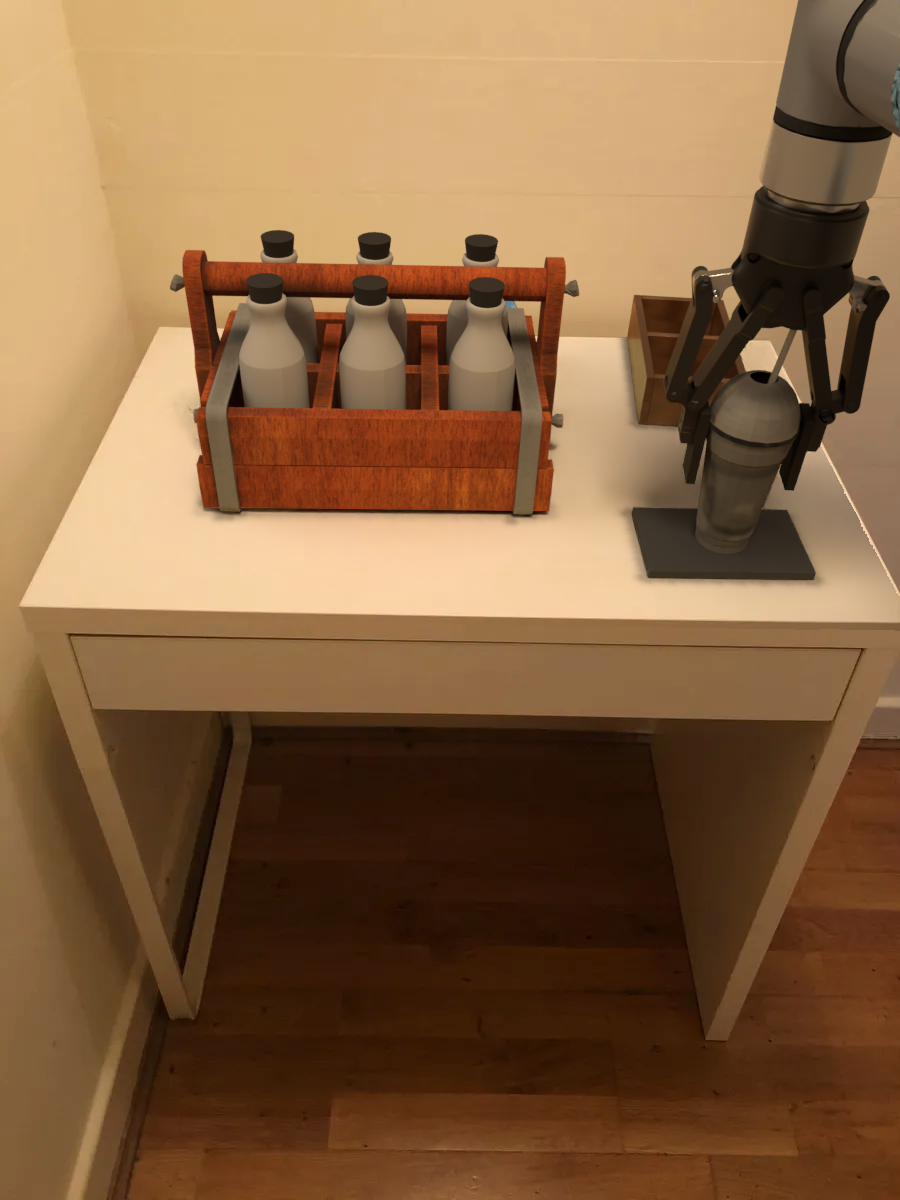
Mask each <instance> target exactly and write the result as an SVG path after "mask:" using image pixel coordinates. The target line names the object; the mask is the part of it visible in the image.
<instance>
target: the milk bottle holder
mask: <svg viewBox="0 0 900 1200" xmlns="http://www.w3.org/2000/svg"><path fill="white" fill-rule="evenodd" d="M260 241H261V244H262V250H261V252H260V257H259V258H260V260H261V261H215V260H214V261H213V260H211V261H210V260H209V259H208V255H207V253H206V251H205V249H204V250H203V249H186V250H185V251H184V253H183V255H182V262H181V263H182V264H181V270H182V276H181V275H180V274H177V273H175V274H174V275H173V277H172V279H171V281H170V285H169V290H171V291H173V292H175V293H177V292H179V291H180V290H182V289H184V291H185V298H186V305H187V310H188V318H189V323H190V330H191V336H192V343H193V350H194V370H195V377H196V382H197V389H198V396H199V405H200V406H198V408H194V409H193V421H194V423H195V424H196V427H197V428H196V429H197V435H198V441H199V447H200V451H201V454H199V456H198V459H197V461H196V471H197V479H198V485H199V491H200V496H201V502H202V506H203V508H212V509H213V508H215V509H216V508H217V509H219V510H220V512H241V511H242V509H304V510H305V509H307V510H308V509H311V510H312V509H313V510H315V509H318V510H322V509H323V510H324V509H325V510H328V509H329V510H403V511H404V510H405V511H406V510H408V511H409V510H412V511H413V510H414V511H415V510H417V511H418V510H419V511H420V510H421V511H426V510H427V511H430V510H431V511H499V512H501V511H504V512H505V511H509V512H512V515H533V512H549V511H550V507H551V506H550V505H551V499H552V491H553V480H554V472H555V471H554V470H555V469H554V468H555V467H554V463H553V462H554V461H553V459H551V458H549V454H550V453H549V452H550V446H551V435H552V426H553V427H555V428H556V429H563V426H564V413H555V414H554V415H553V411H554V410H553V409H554V401H555V393H556V382H557V376H558V375H557V373H558V351H559V343H560V336H561V335H560V333H561V325H562V316H563V307H564V299H565V294H567V295H569V296H571V297H573V298H576V297H579V296H580V289H579V285H578V280H577V279H573V280H570V281H568V283H567V284H566V281H567V280H566V279H567V276H566V275H567V265H566V260H565V257H563V256H562V257H561V256H545V259H544V265H543V267H523V266H498V265H499V262H500V258H499V256H498V255H497V249H498V243H499V240H498V238H497V237H495V236H493V235H489V234H485V233H478V234H477V233H475V234H470V235H468V236H466V237H465V239H464V244H465V253H464V254H463V256H462V258H461V262H462V265H424V264H421V265H420V264H419V265H418V264H417V265H416V264H393V262H394V255H393V253H392V251H391V243H392V237H391V235H389V234H387V233H386V232H379V231H369V232H363V233H361V234H359V235H358V236H357V242H358V248H359V251H358V252H357V253H356V257H355V259H356V262H357V263H322V262H321V263H319V262H317V263H316V262H315V263H313V262H298V258H299V256H298V252H297V250H296V249H295V248H294V247H295V234H294V233H293V232H291V231H289V230H285V229H273V230H268V231H267V230H266V231H265V232H263V233H261V235H260ZM213 297H246V301H245V302H239V303H238V306H237V309H236V310H230V311H229V313H228V316H227V318H226V322H225V324H224V328H223V330H222V334H221V336H220V335H219V332H218V328H217V320H216V319H217V318H216V311H215V304H214V298H213ZM312 298H314V299H348V301H347V304H346V307H345V311H315V307H314V303H313V301H312ZM403 300H420V301H421V300H422V301H423V300H424V301H425V300H426V301H429V300H431V301H451V302H450V304H449V307H448V310H447V313H411V312H409V313H407V309H406V306H405V305H406V304H405V303H404V301H403ZM505 301H515V302H530V303H531V302H534V303H535V302H540V307H539V317H538V325H537V327H538V328H537V337H536V332H535V328H534V321H533V316H532V315H526V314H525V308H523V307H517V308H507V307H506V304H505Z"/></svg>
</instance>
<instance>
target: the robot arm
mask: <svg viewBox="0 0 900 1200" xmlns="http://www.w3.org/2000/svg"><path fill="white" fill-rule="evenodd" d="M792 23H793V24H792V28H791V32H790V35H789V41H788V45H787V50H786V55H785V58H784V59H785V60H784V64H783V68H782V73H781V78H780V83H779V87H778V92H777V97H776V101H775V103H776V105H775V108H774V112H773V116H772V121H771V124H770V129H769V133H768V138H767V142H766V145H765V148H764V149H765V150H764V153H763V158H762V162H761V166H760V170H759V174H758V179H759V182H760V183H761V185H762V186H761V187H760V188H758V189H757V190H756V191H755V193H754V196H753V199H752V204H751V209H750V213H749V217H748V222H747V227H746V231H745V234H744V235H745V236H744V240H743V244H742V248H741V251H740V253H739V255H738V256H737V258H736V259H735V260H734V261H733V262H732V264H731V266H730V267H727V268H719V269H713V270H709V269H708V268H707V266H704V265H698V266H695V268H693V270H692V271H691V298H692V299H691V301H690V304H689V307H688V310H687V313H686V316H685V319H684V322H683V325H682V327H681V330H680V333H679V336H678V339H677V342H676V345H675V348H674V350H673V353H672V356H671V359H670V362H669V365H668V368H667V371H666V374H665V376H664V380H663V383H664V389H665V394H666V399H667V400H668V401H669V402H671V403H675V402H678V403H680V404H682V405H683V406H682V411H681V415H680V420H679V425H678V426H677V433H678V437H679V442H680V444H681V445H686V447H685V451H684V456H683V461H682V464H681V465H682V466H681V467H682V472H683V476H684V483H685V485H696V482H697V479H698V473H699V470H700V465H701V460H702V457H703V454H704V453H703V452H704V448H705V445H706V436H707V431H708V427H709V423H710V419H711V411H710V407H709V403H708V399H709V398H710V397H711V395H712V394H713V392H714V391H715V389H716V388H717V387H718V385H719V384H720V382H721V381H722V379H723V378H724V376H725V375H726V374H727V372H728V371H729V369H730V368H731V366H732V365H733V364H734V362H735V361H736V359H737V358H738V356H739V355H741V354H742V352H743V351H744V349H745V348H746V346H747V345H748V343H749V342H750V341H753V340H754V339H755V338H756V337H757V335H758V334H759V332H760V331H761V329H774V328H775V329H776V328H779V327H781V328H782V327H784V328H786V329H788V330H790V329H791V330H797V331H801V336H802V343H803V350H804V358H805V365H806V372H807V380H808V387H809V394H810V400H811V402H810V403H808V402H807V403H806V402H799V406H800V423H799V427H800V432H799V434H798V436H797V438H796V439H795V440H794V441H793V444H792V446H791V448H790V450H789V451H788V453H787V455H786V457H785V458H784V459H783V460H782V463H781V465H780V468H779V470H778V474H779V478H780V480H781V483H782V487H783V489H784V491H787V492H795V490H796V486H797V483H798V480H799V477H800V473H801V471H802V468H803V464H804V460H805V457H806V455H807V452H811V453H816V452H817V451H818V450H819V449H820V447H821V445H822V443H823V439H824V436H825V433H826V430H827V427H828V426H829V425H831V424H833V423H834V422H835V420H836V418H837V414H840V413H845V414H848V415H851V414H852V415H853V414H855V413H857V412H858V411H859V410H860V408H861V403H862V399H863V393H864V388H865V382H866V376H867V372H868V367H869V361H870V357H871V356H870V355H871V351H872V346H873V340H874V337H875V336H874V334H875V330H876V324H877V321H878V320H879V318H880V316H881V314H882V313H883V311H884V309H885V307H886V306H887V304H888V302H889V300H890V298H891V296H890V295H891V294H890V291H889V290H888V289H887V287H886V286H885V284H884V283H883V281H882V279H881V278H880V277H879V276H877V275H871V276H869V277H867V278H865V277H861V276H859V275H858V276H857V275H855V274H854V268H853V264H854V260H855V258H856V255H857V252H858V249H859V247H860V242H861V239H862V236H863V233H864V230H865V226H866V224H867V223H866V222H867V220H868V216H869V213H870V206H869V204H868V202H867V201H868V200H870V199H872V198H873V197H874V196H875V194H876V192H877V189H878V185H879V182H880V178H881V174H882V172H883V167H884V165H885V162H886V157H887V154H888V151H889V147H890V143H891V141H892V140H891V139H892V137H893V135H895V136H897V137H898V138H900V0H797V4H796V9H795V13H794V18H793V22H792ZM731 287H733V288H734V291H735V293H736V295H737V297H738V299H739V302H738V303H737V305H736V306H735V308H734V310H733V311H732V313H731V316H730V318H729V320H730V321H729V323H728V324H727V326H726V327H725V329H724V330H723V332H722V333H721V335H720V336H719V338H718V339H717V341H716V342H715V344H714V345H713V347H712V348H711V350H710V351H709V353H708V354H707V356H706V357H705V359H704V360H703V362H702V363H701V365H700V366H699V368H698V369H697V370H696V372H695V373H694V375H693V376H692V378H691V379H690V381H689V382H687V381H688V379H689V376H690V373H691V370H692V368H693V365H694V362H695V359H696V357H697V354H698V351H699V348H700V346H701V343H702V340H703V338H704V335H705V332H706V329H707V327H708V324H709V321H710V318H711V315H712V309H713V303H718V302H719V301H720V300H722V298H723V296H724V293H725V291H726V290H727V289H729V288H731ZM848 294H849V295H848ZM847 295H848V303H849V305H850V307H851V308H850V311H849V316H848V321H847V323H848V324H847V328H846V333H845V340H844V345H843V352H842V358H841V363H840V369H839V374H838V381H837V386H836V389H834V390H832V384H831V378H830V368H829V367H830V366H829V360H828V352H827V351H828V350H827V344H826V340H827V335H826V325H825V319H824V317H825V316H824V315H826V314H827V312H828V311H830V310H831V309H832V308H833V307H834V306H835V305H837V304H838V303H839V302H840V301H842V299H844V297H846V296H847Z"/></svg>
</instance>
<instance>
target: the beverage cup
mask: <svg viewBox="0 0 900 1200" xmlns="http://www.w3.org/2000/svg"><path fill="white" fill-rule="evenodd" d="M788 330H789V331H788V333H787V335H786V338H785V340H784V342H783V345H782V347H781V350H780V352H779V355H778V357H777V359H776V362H775V365H774V367H773V369H772V371H768V370H762V369H753V370H752V369H751V370H747V371H746V372H743V373H740V374H738V375H736V376H734V377H733V378H731V379H730V380H728V381H727V382H726V383H725V384H724V385H723V386H721V388H720V389H719V390H718V392H717V393H716V395H715V397H714V399H713V401H712V403H711V405H710V411H711V419H710V423H709V427H708V431H707V436H706V440H705V450H704V457H703V464H702V472H701V480H700V488H699V494H698V502H697V507H696V508H697V516H696V531H695V538H696V539H697V541H698V543H699V544H701V545H702V546H703V547H704V548H706V549H708V550H710V551H713V552H716V553H721V554H735V553H738V552H741V551H742V550H744V549H745V548H746V546H747V544H748V541H749V539H750V536H751V535H752V533H753V531H754V529H755V526H756V524H757V521H758V519H759V517H760V514H761V512H762V509H764V506H765V505H766V502H767V499H768V496H769V495H770V492H771V489H772V487H773V484H774V483H775V479H776V477H777V475H778V474H779V469H780V466H781V463H782V460H783V459H784V458H785V457H786V455H787V453H788V451H789V450H790V448H791V446H792V444H793V441H794V440H795V439H796V438H797V436H798V434H799V432H800V427H799V423H800V406H799V403H800V402H799V399H798V396H797V393H796V391H795V389H794V388H793V387H792V386H791V384H790V383H789V382H788V381H787V380H786V379H785V378H783V377H782V376H780V373H781V370H782V368H783V366H784V362H785V360H786V358H787V355H788V354H789V351H790V348H791V347H792V343H793V341H794V339H795V336H796V334H797V332H798V330H791V329H788Z"/></svg>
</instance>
